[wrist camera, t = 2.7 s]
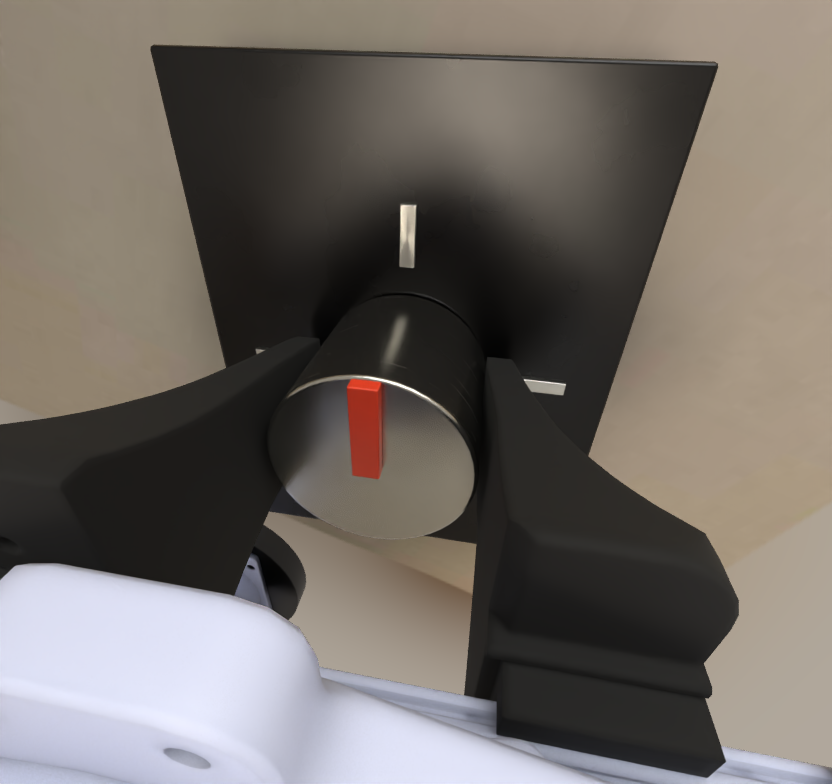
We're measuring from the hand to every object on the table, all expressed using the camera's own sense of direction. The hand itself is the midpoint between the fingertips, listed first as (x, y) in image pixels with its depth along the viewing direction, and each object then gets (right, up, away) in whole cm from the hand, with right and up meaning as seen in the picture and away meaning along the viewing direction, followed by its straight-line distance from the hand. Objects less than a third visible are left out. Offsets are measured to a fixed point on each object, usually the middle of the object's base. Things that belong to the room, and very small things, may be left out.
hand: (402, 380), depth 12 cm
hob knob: (0, 0, 0) cm, 1 cm away
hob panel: (+1, +2, +3) cm, 4 cm away
